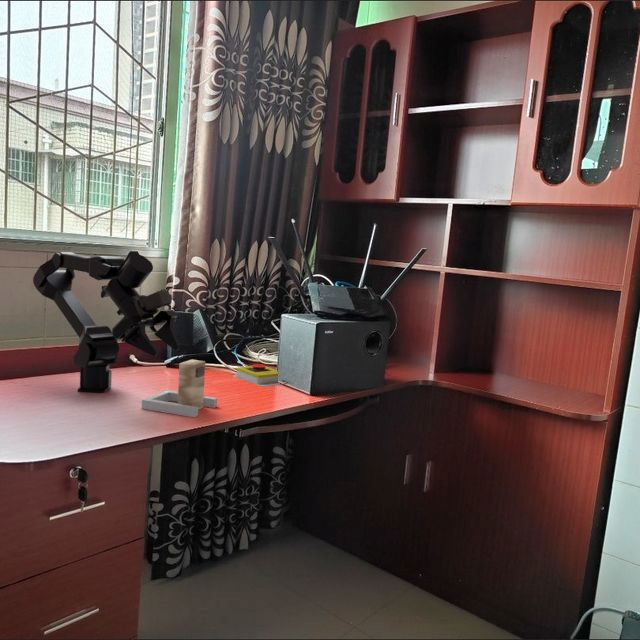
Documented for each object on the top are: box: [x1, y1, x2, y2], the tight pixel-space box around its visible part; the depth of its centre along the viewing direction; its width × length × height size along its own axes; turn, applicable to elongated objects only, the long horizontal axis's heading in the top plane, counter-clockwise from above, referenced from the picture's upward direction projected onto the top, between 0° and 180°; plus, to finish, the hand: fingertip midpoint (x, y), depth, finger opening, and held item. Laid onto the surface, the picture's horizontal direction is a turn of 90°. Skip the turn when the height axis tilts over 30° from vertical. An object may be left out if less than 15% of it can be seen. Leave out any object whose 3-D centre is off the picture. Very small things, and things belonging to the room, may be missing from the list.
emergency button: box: [233, 363, 282, 387], centre depth 176 cm, size 9×4×15 cm
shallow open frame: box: [141, 390, 218, 418], centre depth 142 cm, size 14×10×2 cm
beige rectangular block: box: [177, 359, 206, 411], centre depth 141 cm, size 4×6×11 cm
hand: (167, 352), depth 142 cm, fingers open, 9 cm apart
